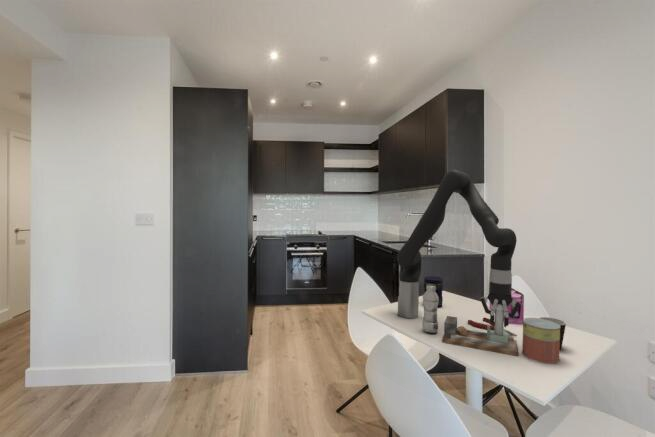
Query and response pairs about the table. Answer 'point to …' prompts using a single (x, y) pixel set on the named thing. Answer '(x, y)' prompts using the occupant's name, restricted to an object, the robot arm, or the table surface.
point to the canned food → (541, 340)
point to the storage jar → (439, 286)
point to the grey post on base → (498, 327)
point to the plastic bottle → (430, 309)
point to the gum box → (520, 312)
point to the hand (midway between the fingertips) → (499, 325)
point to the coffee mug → (560, 328)
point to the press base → (475, 339)
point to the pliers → (484, 326)
